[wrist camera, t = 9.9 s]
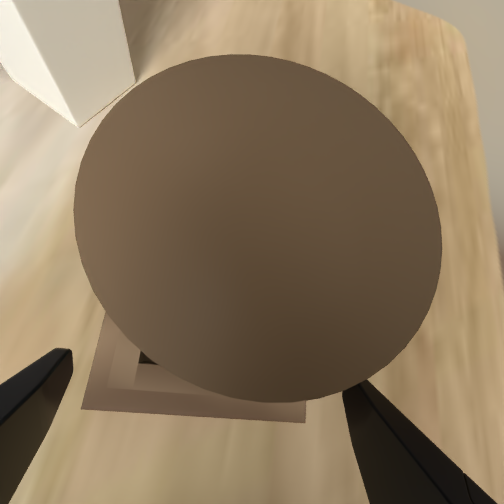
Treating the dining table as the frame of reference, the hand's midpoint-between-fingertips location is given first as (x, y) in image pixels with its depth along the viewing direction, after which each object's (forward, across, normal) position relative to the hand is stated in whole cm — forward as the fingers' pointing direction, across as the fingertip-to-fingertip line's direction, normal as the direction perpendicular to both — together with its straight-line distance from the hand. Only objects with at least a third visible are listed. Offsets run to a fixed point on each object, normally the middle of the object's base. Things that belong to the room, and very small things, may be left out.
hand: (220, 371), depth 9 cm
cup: (+8, 0, +3) cm, 8 cm away
